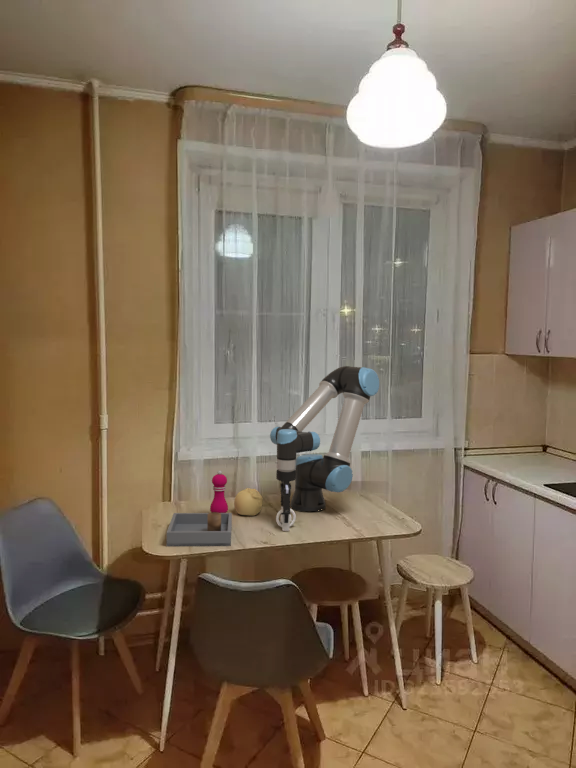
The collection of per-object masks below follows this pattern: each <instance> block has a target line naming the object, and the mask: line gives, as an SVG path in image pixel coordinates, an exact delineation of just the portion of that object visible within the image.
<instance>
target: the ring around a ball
mask: <svg viewBox="0 0 576 768" xmlns="http://www.w3.org/2000/svg"><path fill="white" fill-rule="evenodd" d="M282 512H283V509H281V508H280V510H278V511H277V514H276V516H275V521H276V523H277V526H279V527H281V528H282V523H281V521H282V517H283V515H281V513H282ZM291 514H292V515H291ZM279 519H280V520H279ZM296 520H297V515H296V513H295V510H294V509H292V508H290V526H289V528H291V527H292V526H294V523H295V522H296Z"/></svg>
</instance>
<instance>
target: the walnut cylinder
mask: <svg viewBox="0 0 576 768" xmlns="http://www.w3.org/2000/svg"><path fill="white" fill-rule="evenodd" d="M207 513H208V523H207V531H221V513H218V512H207Z"/></svg>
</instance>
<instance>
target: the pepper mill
mask: <svg viewBox="0 0 576 768" xmlns="http://www.w3.org/2000/svg"><path fill="white" fill-rule="evenodd" d="M222 473H223V472H222V470H217V472H216V474H215V475H213V477H212V478H211V479H212V480H211V483H212V485H213V487H212V489H213V492H214V494H213V495H214V496H213V499H212V502H211V504H210V508H209V510H210V513H212V512H218V513H228V511H229V505H228V502H227V500H226V497H225V491H226V490H227V489H226V485H227V483H228V479H227V476H226V475H225V474H222Z"/></svg>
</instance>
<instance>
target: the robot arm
mask: <svg viewBox="0 0 576 768" xmlns="http://www.w3.org/2000/svg"><path fill="white" fill-rule="evenodd" d="M318 384H319V385H318V387H317V389H315V390H314V391H313V392H312V394H311V395H309V397H308V398H307V399H306V400H305V401H304V402H303V403H302V405H301V406H299V408H298V409H297V410H296V411H295V412H294V413H293V414H292V415H291V416H290V417H289V418H288V419H287V420H286V421H285V423H284V424H283V425H281V426H276V427H273V428H272V429H271V431H270V434H269V438H270V441H271V443H273V444H274V445H276V460H275V461H274V463H275V464H276V471H275V473H276V475H275V476H276V477H275V478H276V480H277V481H280V510H281V509H283V512H282V513H281V514H280V516H281V515H283V517H282V521H281V520H280V521H281V522H280V523H281V524H282V527H281V530H282V532H283V531H284V532H290V527H289V526H290V523H291V521H290V515H291V512H290V509H292V508H293V509H292V510H294V509H295V510H294V511H297V510H300V511H299V512H301V511H318V510H321V509H324V508H325V509H326V500H325V496H324V494H323V490H326V491H329V492H331V493H332V492H335V493H341V492H344V491H345V490H347V489H349V486H350V485H351V484H352V481H353V476H354V474H353V470H352V468H351V461H350V458H349V457H350V453H351V451H352V447H353V444H354V440H355V437H356V434H357V430H358V427H359V423H360V421H361V417H362V414H363V410H364V407H365V405H366V404H369V401H370V398H371V397H374V396H376V395H377V393H378V392H379V389H380V379H379V375H378V373H377V372H376V371H375V370H374V369H372V368H369V367H365V366H362V367H359V366H349V365H348V366H347V365H345V366H344V365H343V366H341V367H340V366H339V367H338V368H336V369H334V370H332V371H331V372H330V373H328V374H327V375H326V376H325V377H324V378H323V379H322V380H321V381H320V382H319V383H318ZM341 394H342V396H343V397H344V401H343V404H342V407H341V411H340V414H339V417H338V421H337V423H336V426H335V431H334V434H333V437H332V439H331V443H330V447H329V450H328V452H327V453H325V454H323V455H322V454H320V453H316V454H315V453H313V454H302V455H298V456H297V454H299V453H305V452H312V451H316V450H317V449H319V448H320V446H321V437H320V435H319V434H318V433H317V432H315V431H307V432H306V431H304V430H305V428H307V427H308V425H309V424H310V423H311V422H312V421H313V420H314V419H315V417H317V415H318V414H319V413H320V412H321V411H322V410H323V409H324V408H325V406H326V405H328V403H329V402H330V401H331V400H332V399H335V398H337V397H338V396H339V395H341ZM290 482H294V483H295V484H294V492H293V495H292V484H291V483H290ZM291 495H292V497H291ZM291 507H292V508H291ZM325 509H324V510H325ZM318 512H319V511H318Z"/></svg>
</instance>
